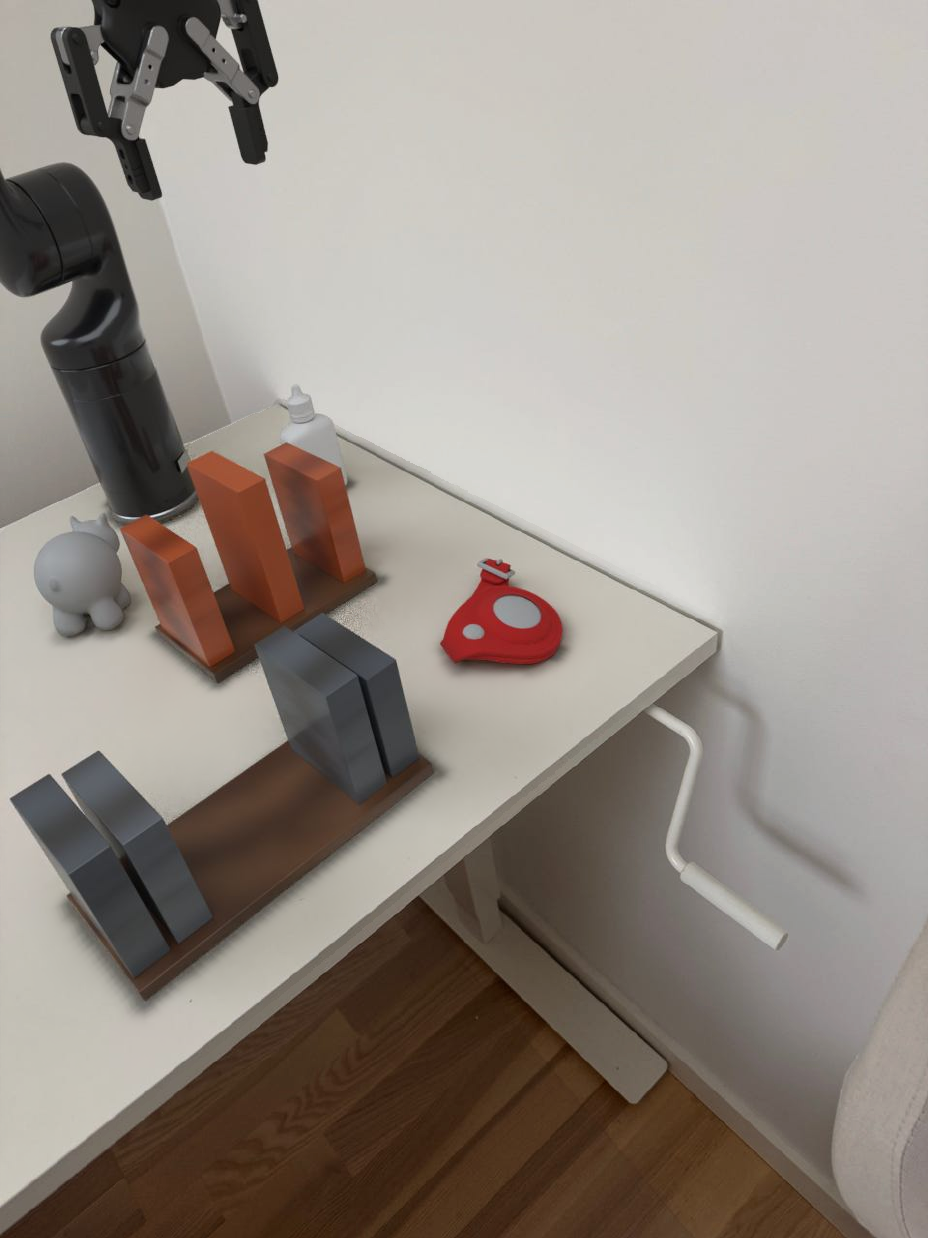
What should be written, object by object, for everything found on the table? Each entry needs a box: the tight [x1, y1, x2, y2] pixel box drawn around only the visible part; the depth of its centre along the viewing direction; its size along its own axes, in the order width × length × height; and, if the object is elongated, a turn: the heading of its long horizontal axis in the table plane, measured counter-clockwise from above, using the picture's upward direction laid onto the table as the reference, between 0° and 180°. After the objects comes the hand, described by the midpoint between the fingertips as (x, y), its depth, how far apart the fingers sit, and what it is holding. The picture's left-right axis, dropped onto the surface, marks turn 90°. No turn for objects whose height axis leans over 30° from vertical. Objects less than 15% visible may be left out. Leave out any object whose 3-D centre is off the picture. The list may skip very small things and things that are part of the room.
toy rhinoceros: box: [33, 512, 132, 637], centre depth 86 cm, size 7×12×8 cm, turn 179°
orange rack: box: [119, 442, 378, 684], centre depth 81 cm, size 10×17×12 cm, turn 133°
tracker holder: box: [439, 557, 564, 665], centre depth 77 cm, size 12×4×10 cm
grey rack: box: [9, 613, 434, 1002], centre depth 61 cm, size 10×23×11 cm, turn 133°
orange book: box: [186, 450, 304, 623], centre depth 80 cm, size 8×2×13 cm, turn 44°
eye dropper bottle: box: [279, 383, 348, 487], centre depth 96 cm, size 4×6×12 cm
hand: (204, 179), depth 67 cm, fingers open, 8 cm apart
